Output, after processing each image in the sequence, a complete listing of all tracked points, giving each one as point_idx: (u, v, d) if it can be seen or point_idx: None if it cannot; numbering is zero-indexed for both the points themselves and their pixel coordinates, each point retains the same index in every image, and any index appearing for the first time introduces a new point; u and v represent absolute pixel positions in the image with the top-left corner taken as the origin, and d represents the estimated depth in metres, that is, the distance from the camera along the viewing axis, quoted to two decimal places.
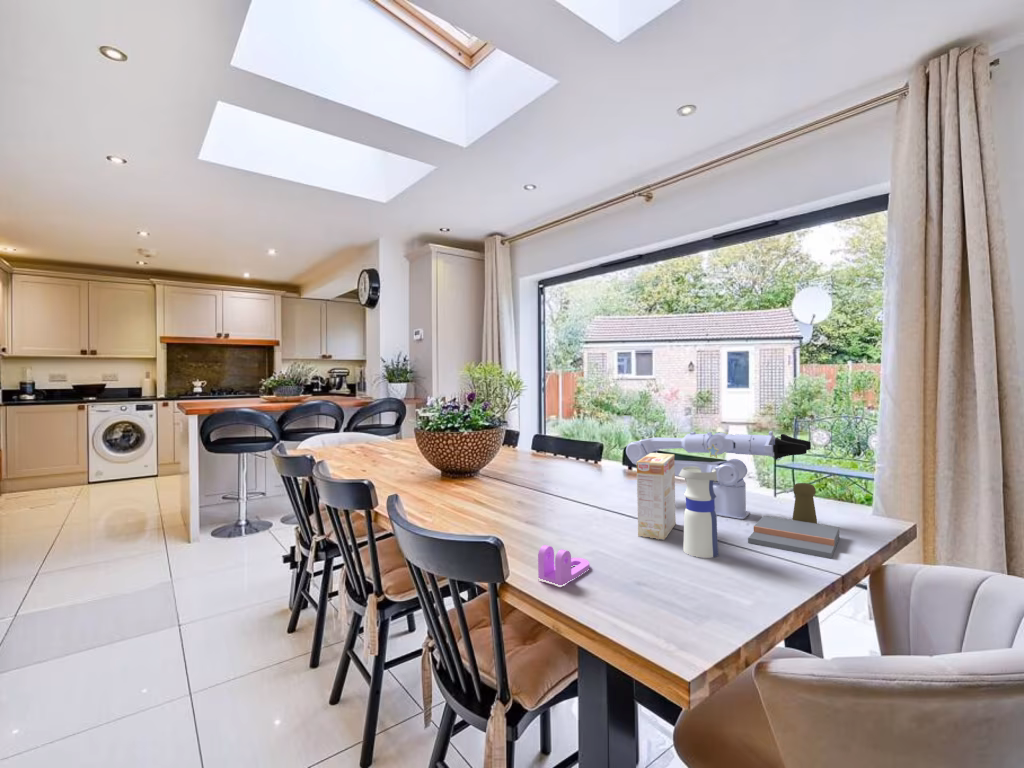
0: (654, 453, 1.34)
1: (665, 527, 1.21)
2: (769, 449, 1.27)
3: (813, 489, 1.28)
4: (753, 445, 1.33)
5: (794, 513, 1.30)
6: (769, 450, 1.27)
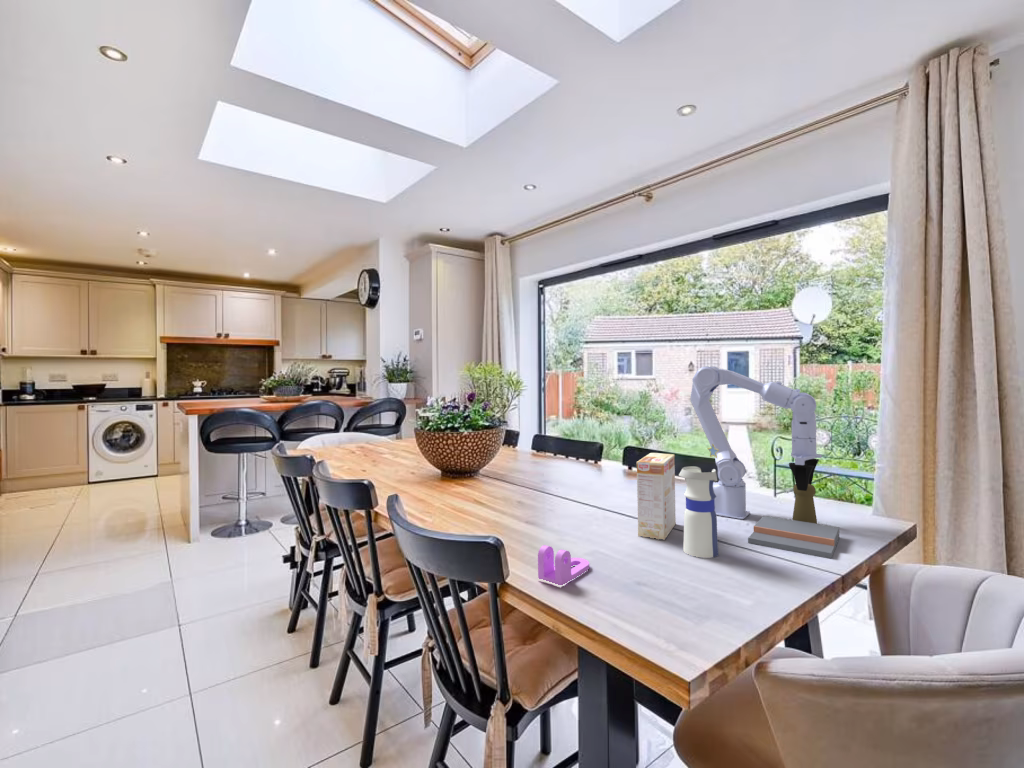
0: (654, 453, 1.34)
1: (665, 527, 1.21)
2: (799, 462, 1.24)
3: (813, 489, 1.28)
4: (803, 441, 1.28)
5: (794, 513, 1.30)
6: (798, 462, 1.25)
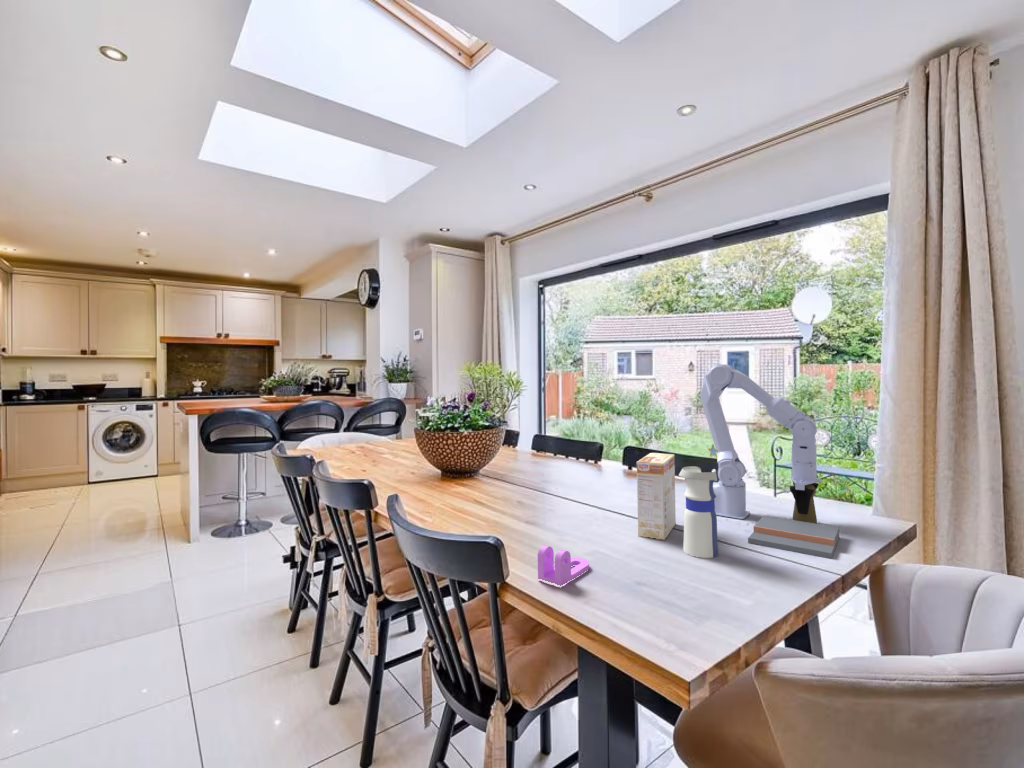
0: (654, 453, 1.34)
1: (665, 527, 1.21)
2: (799, 487, 1.24)
3: (813, 489, 1.28)
4: (803, 466, 1.28)
5: (794, 513, 1.30)
6: (798, 487, 1.25)
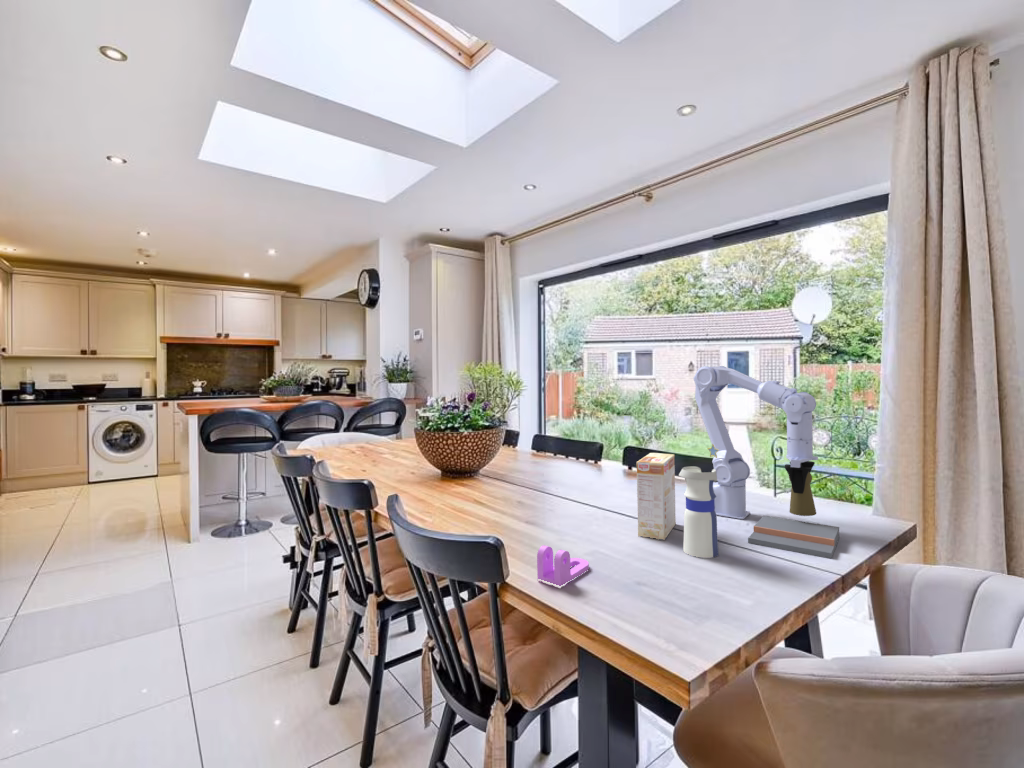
0: (654, 453, 1.34)
1: (665, 527, 1.21)
2: (795, 464, 1.19)
3: (809, 476, 1.22)
4: (798, 443, 1.22)
5: (791, 502, 1.25)
6: (793, 464, 1.19)
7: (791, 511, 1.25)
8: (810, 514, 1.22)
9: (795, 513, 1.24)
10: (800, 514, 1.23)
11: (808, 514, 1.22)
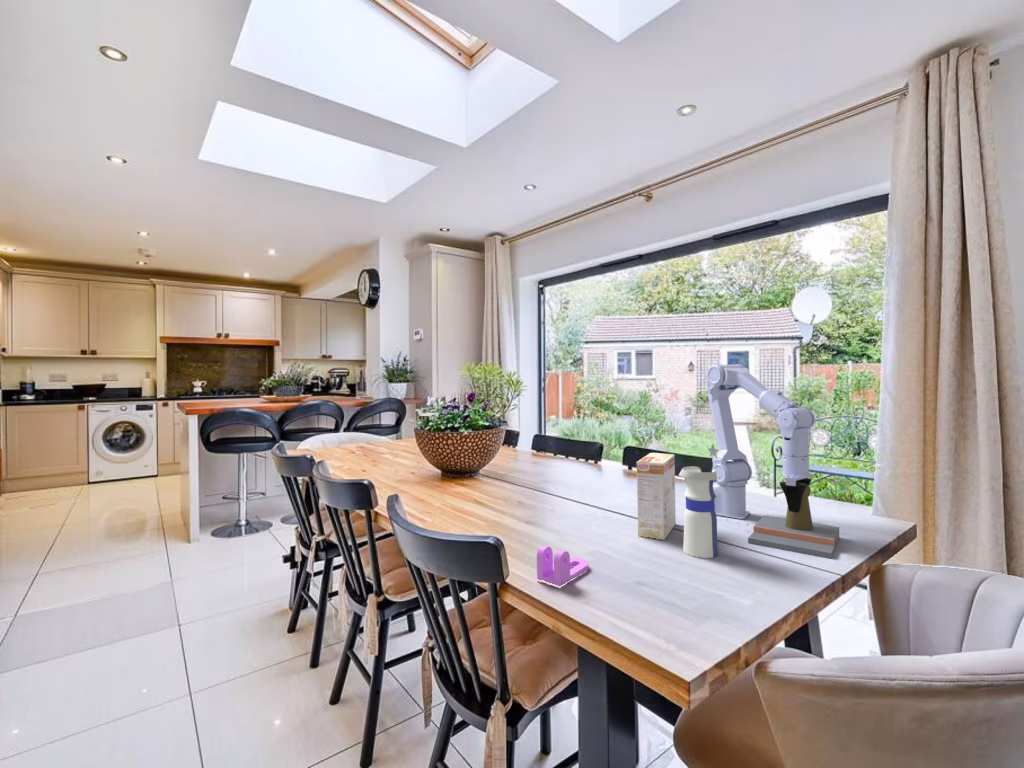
0: (654, 453, 1.34)
1: (665, 527, 1.21)
2: (790, 482, 1.14)
3: (807, 489, 1.17)
4: (794, 460, 1.18)
5: (787, 515, 1.20)
6: (789, 482, 1.15)
7: (787, 524, 1.20)
8: (806, 529, 1.17)
9: (791, 527, 1.19)
10: (796, 528, 1.18)
11: (804, 529, 1.17)
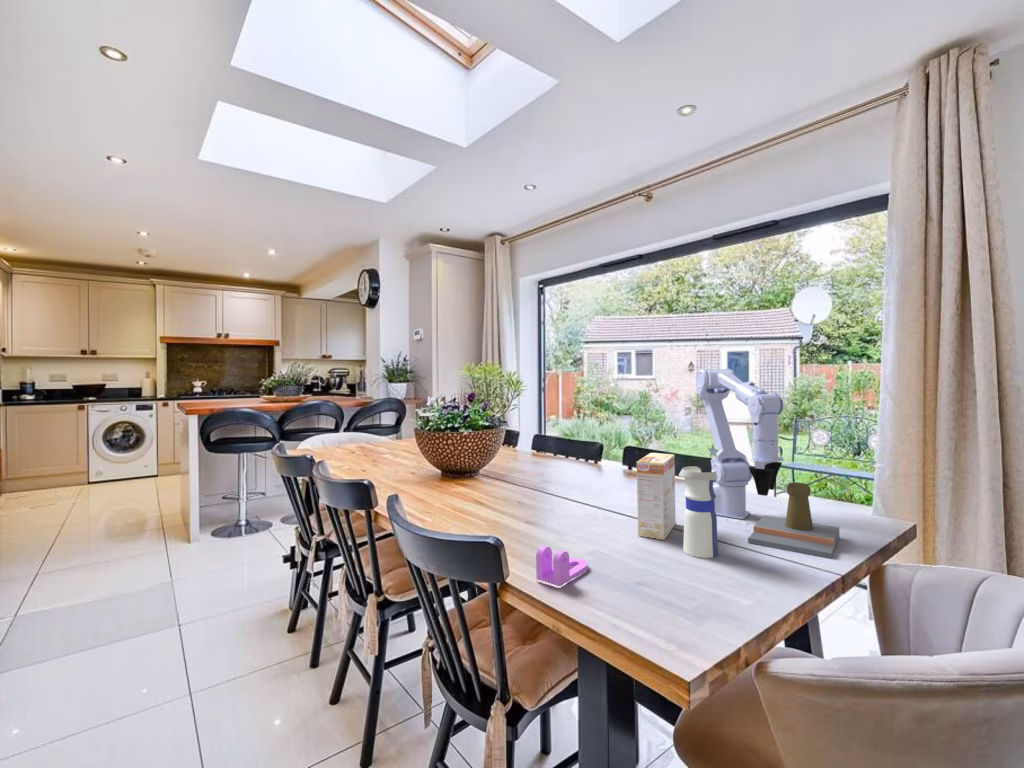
0: (654, 453, 1.34)
1: (665, 527, 1.21)
2: (759, 466, 1.19)
3: (808, 489, 1.18)
4: (764, 444, 1.22)
5: (787, 515, 1.20)
6: (758, 465, 1.19)
7: (787, 524, 1.20)
8: (806, 529, 1.17)
9: (791, 527, 1.19)
10: (796, 528, 1.18)
11: (804, 529, 1.17)
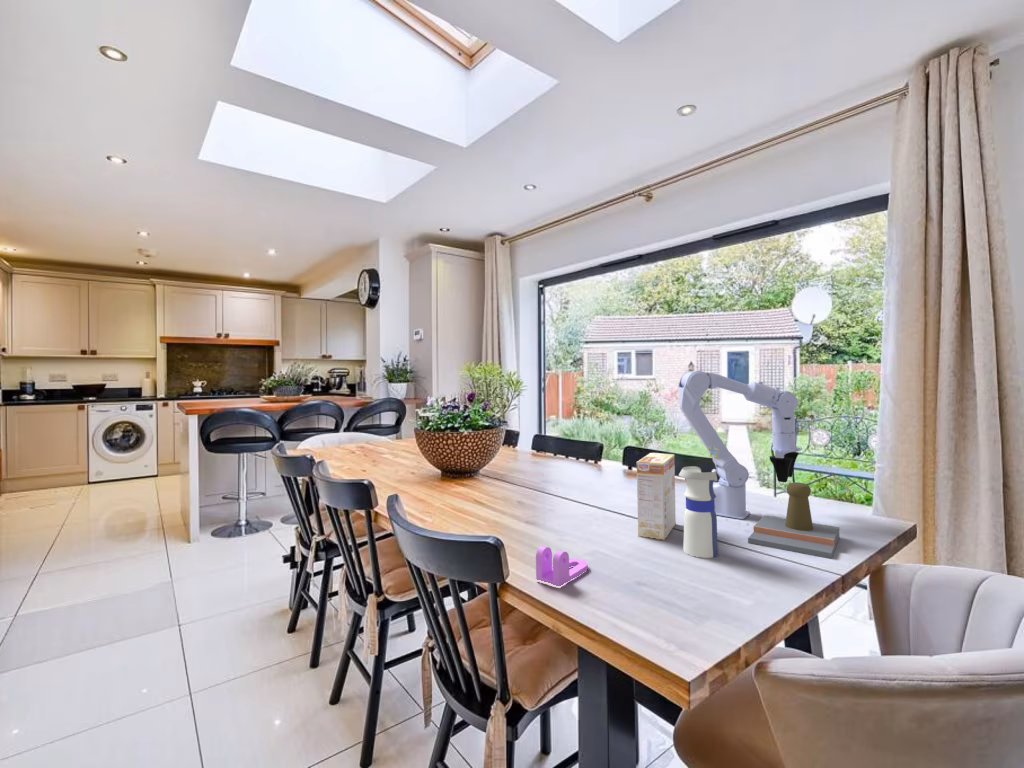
0: (654, 453, 1.34)
1: (665, 527, 1.21)
2: (779, 455, 1.33)
3: (808, 489, 1.18)
4: (782, 436, 1.36)
5: (787, 515, 1.20)
6: (778, 455, 1.33)
7: (787, 524, 1.20)
8: (806, 529, 1.17)
9: (791, 527, 1.19)
10: (796, 528, 1.18)
11: (804, 529, 1.17)
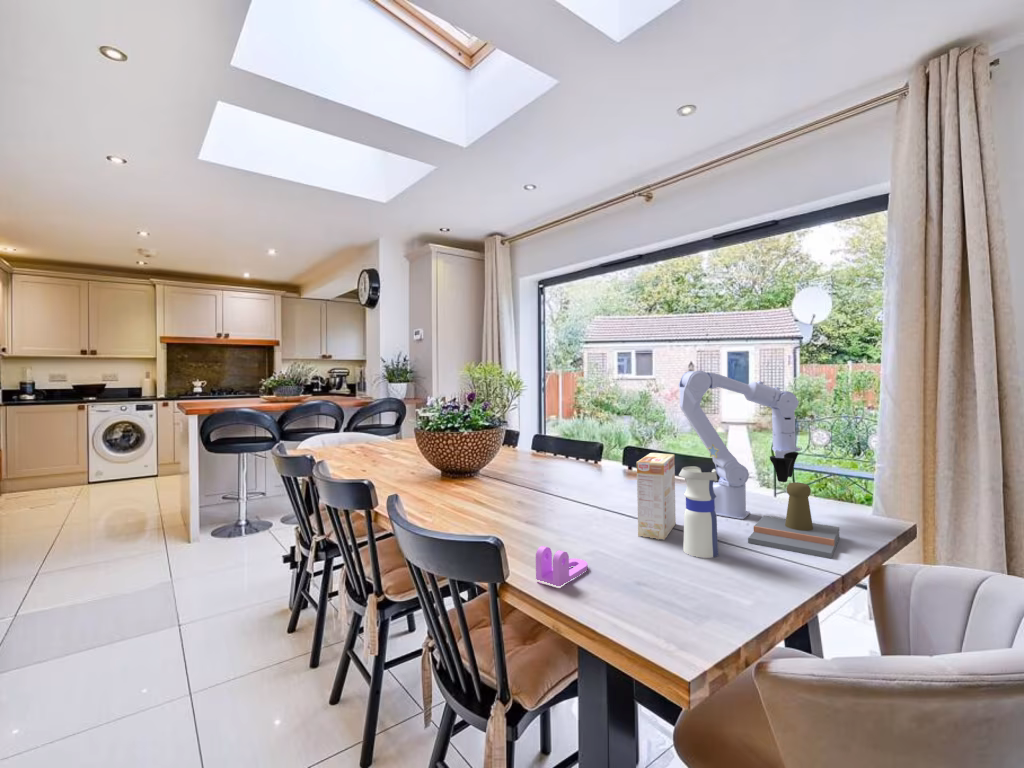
0: (654, 453, 1.34)
1: (665, 527, 1.21)
2: (779, 455, 1.33)
3: (808, 489, 1.18)
4: (782, 436, 1.36)
5: (787, 515, 1.20)
6: (778, 455, 1.33)
7: (787, 524, 1.20)
8: (806, 529, 1.17)
9: (791, 527, 1.19)
10: (796, 528, 1.18)
11: (804, 529, 1.17)
